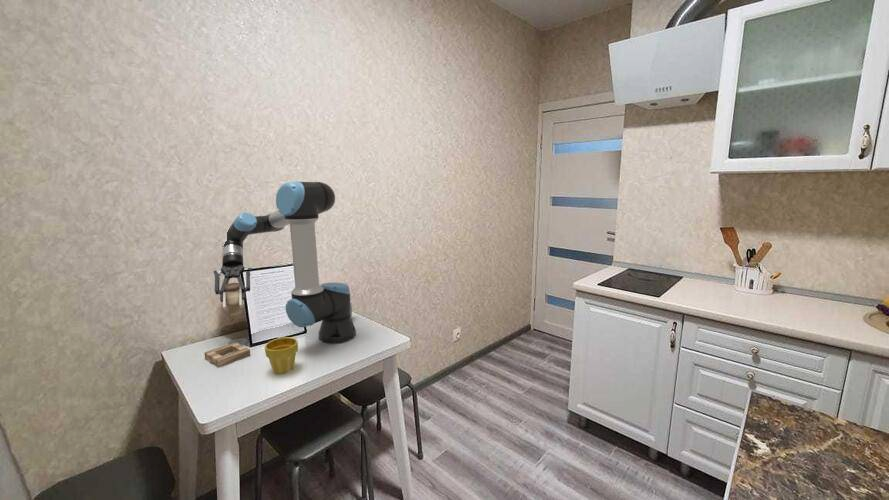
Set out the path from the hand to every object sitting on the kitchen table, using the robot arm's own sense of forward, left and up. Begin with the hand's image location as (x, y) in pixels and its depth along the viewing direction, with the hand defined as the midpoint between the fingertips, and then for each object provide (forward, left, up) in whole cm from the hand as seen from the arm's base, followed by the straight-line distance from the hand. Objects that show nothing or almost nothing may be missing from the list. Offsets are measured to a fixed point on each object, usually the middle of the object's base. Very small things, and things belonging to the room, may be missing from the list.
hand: (232, 307), depth 139 cm
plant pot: (-31, -1, -17) cm, 35 cm away
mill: (+3, -2, -4) cm, 5 cm away
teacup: (-10, -44, -17) cm, 48 cm away
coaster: (+3, -2, -16) cm, 17 cm away
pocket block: (-6, +6, -16) cm, 18 cm away
